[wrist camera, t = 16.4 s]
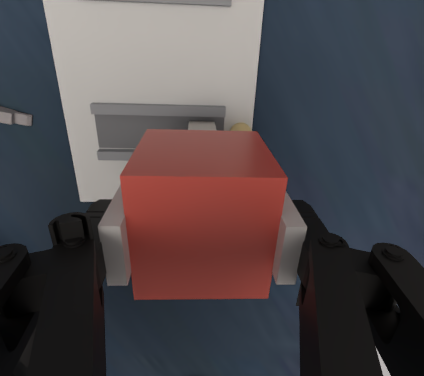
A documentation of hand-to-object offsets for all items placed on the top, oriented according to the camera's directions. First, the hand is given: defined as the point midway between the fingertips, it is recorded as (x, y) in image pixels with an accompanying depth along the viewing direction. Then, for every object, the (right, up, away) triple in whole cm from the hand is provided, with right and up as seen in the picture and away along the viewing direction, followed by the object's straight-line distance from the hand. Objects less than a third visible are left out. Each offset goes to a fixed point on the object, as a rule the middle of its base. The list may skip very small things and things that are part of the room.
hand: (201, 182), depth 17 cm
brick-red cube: (0, 0, 0) cm, 0 cm away
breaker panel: (-4, +11, +8) cm, 14 cm away
